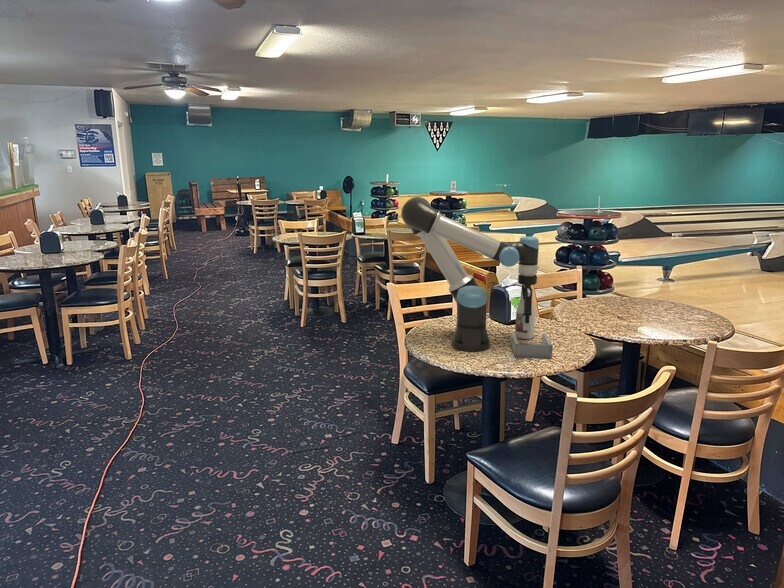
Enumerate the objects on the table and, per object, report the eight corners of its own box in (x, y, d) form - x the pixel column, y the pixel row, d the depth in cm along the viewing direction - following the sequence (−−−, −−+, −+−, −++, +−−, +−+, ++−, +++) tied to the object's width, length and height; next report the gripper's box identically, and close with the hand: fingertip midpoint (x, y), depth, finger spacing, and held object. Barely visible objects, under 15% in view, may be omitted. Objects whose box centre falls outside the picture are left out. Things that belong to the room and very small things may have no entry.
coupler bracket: (515, 357, 198) (516, 344, 197) (510, 343, 213) (511, 332, 212) (551, 358, 196) (552, 345, 195) (544, 344, 212) (545, 332, 211)
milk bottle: (527, 333, 227) (529, 288, 222) (537, 338, 220) (540, 292, 215) (511, 335, 225) (513, 289, 220) (521, 340, 217) (523, 293, 213)
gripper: (541, 279, 206) (537, 334, 211) (533, 269, 226) (530, 320, 231) (521, 279, 207) (518, 334, 212) (515, 269, 227) (513, 320, 232)
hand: (524, 327), depth 221 cm, fingers closed on milk bottle, 8 cm apart
